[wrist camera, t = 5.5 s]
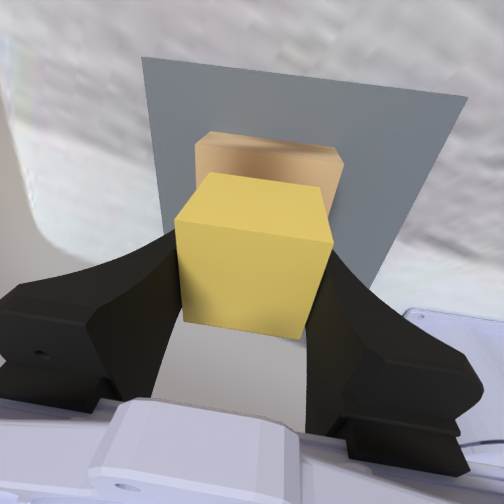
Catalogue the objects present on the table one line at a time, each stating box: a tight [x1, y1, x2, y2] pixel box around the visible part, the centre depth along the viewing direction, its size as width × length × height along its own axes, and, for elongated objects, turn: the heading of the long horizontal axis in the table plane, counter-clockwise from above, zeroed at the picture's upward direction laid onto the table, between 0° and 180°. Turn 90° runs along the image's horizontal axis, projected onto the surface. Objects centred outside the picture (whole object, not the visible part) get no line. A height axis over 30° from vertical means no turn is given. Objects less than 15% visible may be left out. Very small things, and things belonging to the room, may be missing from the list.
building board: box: [141, 57, 468, 289], centre depth 17 cm, size 16×13×1 cm
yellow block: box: [174, 172, 334, 340], centre depth 11 cm, size 5×5×4 cm
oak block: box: [195, 131, 344, 218], centre depth 15 cm, size 7×7×3 cm
